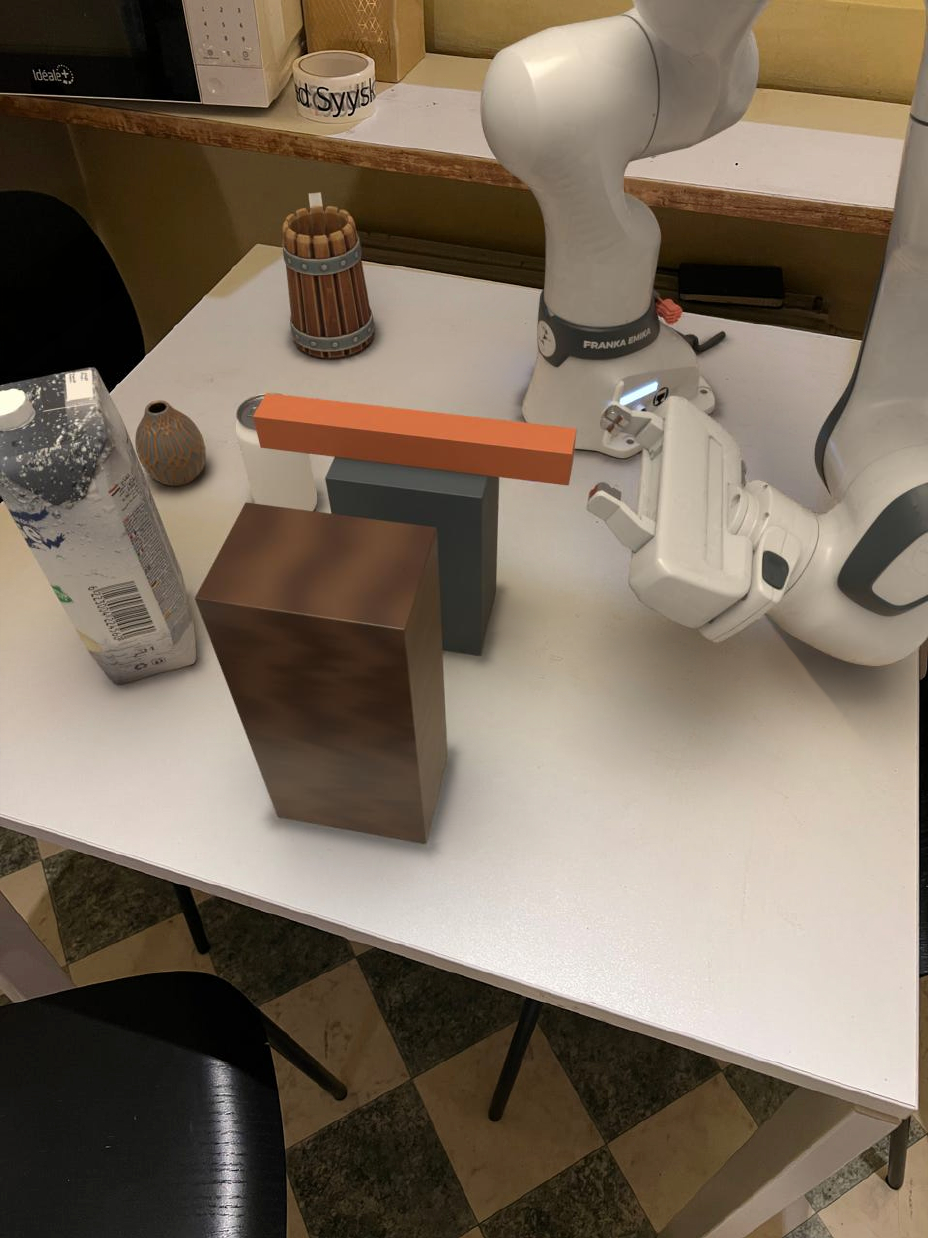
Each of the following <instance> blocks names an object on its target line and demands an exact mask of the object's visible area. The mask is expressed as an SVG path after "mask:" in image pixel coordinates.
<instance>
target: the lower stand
mask: <svg viewBox="0 0 928 1238" xmlns="http://www.w3.org/2000/svg"><path fill="white" fill-rule="evenodd" d="M324 481H325V486H326V493H327V497H328V504H329V509H330V514H337V515H345V516H352V517H360V518H367V519H375V520H382V521H390V522H397V523H405V524H412V525H420V526H427V527H435V528H437V543H438V565H439V586H440V607H441V628H442V649H443V651H446V652H453V653H454V652H455V653H460V654H467V655H473V656H479V657H480V656H482V653H483V649H484V645H485V640H486V636H487V631H488V626H489V622H490V620H491V619H490V618H491V614H492V611H493V606H494V602H495V597H496V594H497V593H496V592H497V573H498V572H497V569H498V540H499V539H498V537H499V536H498V534H499V503H500V501H499V500H500V495H499V494H500V477H494V476H486V475H478V474H470V473H462V472H454V471H446V470H437V469H429V468H421V467H413V466H405V465H397V464H389V463H381V462H372V461H364V460H356V459H348V458H340V457H333V460H332V462H331V464H330V467H329V468H328V471H327V473H326V475H325V477H324Z"/></svg>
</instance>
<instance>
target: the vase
mask: <svg viewBox="0 0 928 1238" xmlns="http://www.w3.org/2000/svg"><path fill="white" fill-rule="evenodd" d="M134 444H135V445H134V446H135V452H136V455H137V457H138V460H139V463H140V465H141V467H142V469H144V470H145V472H146V473H147V474H148V475H149V476H150V477H151V478H153V479H154V480H155V481H157V482H158V483H161V484H164V485H168V486H174V487H175V486H176V487H177V486H183V485H186V484H189V483H190V482H192V481H194V480H195V479H196V478H197V477H198V476H199V475H200V474H201V472H202V470H203V468H204V466H205V463H206V459H207V458H206V457H207V456H206V455H207V450H206V443H205V440H204V437H203V435H202V432H201V431H200V429H199V427H198V426H197V425H196V423H195V421H193V420H192V419H191V418H190V417H189V416H188V415H186V414H185V413H183V412H181V411H179V410H178V409H177V408H174V407H172V405H171V404H170V403H169V402H167V401H165V400H161V399H160V400H154V401H151V402H148V404H147V405H146V406H145V408H144V414H143V417H142V418H141V420H140V422H139V424H138V426H137V428H136V431H135V437H134Z"/></svg>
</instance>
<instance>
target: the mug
mask: <svg viewBox="0 0 928 1238" xmlns="http://www.w3.org/2000/svg"><path fill="white" fill-rule="evenodd" d="M322 199H323V198H322V192H310V193H309V192H308V201H309V202H308V203H309V210H308V209H307V208H306V207H302V208H300V209H297V210H296V211H295V212H294V213H290V214H288V215H287V216H286V218H285V220H284V222H283V225H282V229H281V230H282V243H281V244H282V245H281V246H282V255H283V260H284V263H285V269H286V271H285V272H286V281H287V289H288V298H289V299H288V300H289V310H290V316H289V325H290V333H291V336H292V338H293V342H294V344H295V346H297V348H298V349H299V350H301V351H303V352H304V353H306V354H308V355H310V356H313V357H315V358H322V359H340V358H346V357H349V356H352V355H355V354H357V353H358V352H360V351H362V350H363V349H364V348H366V347H367V346H368V345H369V344H370V343H371V341H372V340H373V339H374V334H375V320H374V314H373V310H372V308H371V306H370V305H371V304H370V300H369V295H368V290H367V283H366V278H365V272H364V267H363V261H362V248H361V241H360V237H359V235H358V232H357V227H356V223H355V222H356V221H354V218H353V217H352V216H351V215H350V213H349V211H347V210H346V209H339V208H338V207H337V206H334V205H333V206H332V205H328V206H326V207H325V209H324V207H323V200H322Z"/></svg>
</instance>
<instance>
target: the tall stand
mask: <svg viewBox="0 0 928 1238" xmlns="http://www.w3.org/2000/svg"><path fill="white" fill-rule="evenodd" d="M194 601H195V603H196V607H197V609H198V611H199V614H200V616H201V620H202V622H203V624H204V627H205V630H206V632H207V635H208V638H209V640H210V643H211V645H212V648H213V651H214V654H215V656H216V658H217V661H218V664H219V667H220V669H221V673H222V674H223V675H222V676H223V677H224V680H225V683H226V685H227V688H228V691H229V692H230V695H231V698H232V701H233V704H234V706H235V709H236V711H237V714H238V717H239V720H240V722H241V725H242V728H243V730H244V732H245V736H246V738H247V741H248V743H249V746H250V748H251V752H252V754H253V756H254V759H255V762H256V764H257V767H258V769H259V772H260V775H261V777H262V780H263V783H264V786H265V788H266V790H267V793H268V796H269V798H270V801H271V804H272V807H273V809H274V811H275V815H276V817H279V818H282V819H289V820H294V821H299V822H305V823H310V824H316V825H322V826H327V827H332V828H338V829H343V830H348V831H354V832H359V833H364V834H370V835H375V836H376V835H377V836H380V837H386V838H391V839H392V838H393V839H398V840H403V841H409V842H412V843H413V842H414V843H419V844H427V841H428V838H429V834H430V830H431V825H432V822H433V821H432V820H433V817H434V813H435V808H436V804H437V800H438V798H439V797H438V796H439V792H440V788H441V784H442V780H443V776H444V773H445V769H446V768H445V767H446V765H447V761H448V760H447V759H448V736H447V714H446V695H445V692H446V691H445V675H444V673H445V672H444V671H445V670H444V653H443V651H444V650H443V649H442V628H441V607H440V586H439V565H438V543H437V528H435V527H427V526H420V525H412V524H405V523H397V522H390V521H382V520H375V519H367V518H360V517H352V516H345V515H337V514H331V512H330V513H329V512H321V511H314V510H313V511H307V510H300V509H292V508H285V507H277V506H270V505H262V504H255V502H254V503H253V502H247V501H246V502H244V504H243V506H242V508H241V510H240V511H239V514H238V516H237V518H236V519H235V522H234V523H233V525H232V527H231V529H230V531H229V532H228V534H227V536H226V538H225V539H224V541H223V544H222V546H221V547H220V549H219V551H218V553H217V555H216V557H215V559H214V561H213V563H212V565H211V567H210V569H209V570H208V572H207V574H206V576H205V578H204V580H203V582H202V584H201V585H200V588H199V589H198V591H197V593H196V595H195V597H194Z"/></svg>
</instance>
